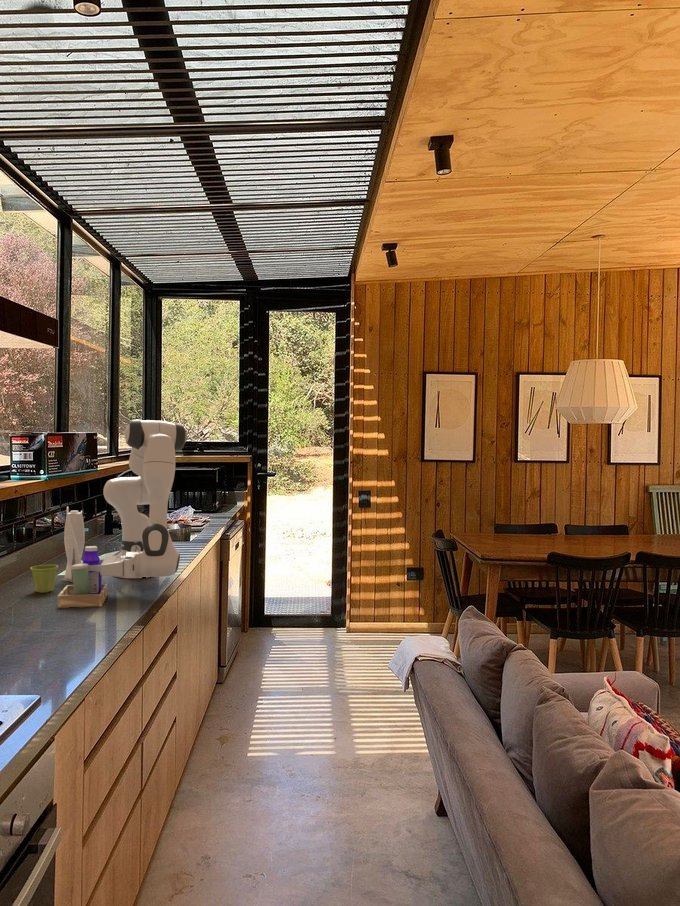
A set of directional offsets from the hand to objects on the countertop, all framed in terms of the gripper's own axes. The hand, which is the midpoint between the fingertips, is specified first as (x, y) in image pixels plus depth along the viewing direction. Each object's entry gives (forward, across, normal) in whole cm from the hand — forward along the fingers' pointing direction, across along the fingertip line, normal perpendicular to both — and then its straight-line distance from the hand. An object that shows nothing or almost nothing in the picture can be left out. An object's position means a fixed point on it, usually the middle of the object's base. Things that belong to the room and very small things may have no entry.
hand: (89, 565), depth 265 cm
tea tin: (+1, +7, +11) cm, 13 cm away
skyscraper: (+10, -37, +12) cm, 40 cm away
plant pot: (+17, -16, +12) cm, 26 cm away
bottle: (-1, +1, +11) cm, 11 cm away
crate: (+1, +4, +11) cm, 12 cm away
